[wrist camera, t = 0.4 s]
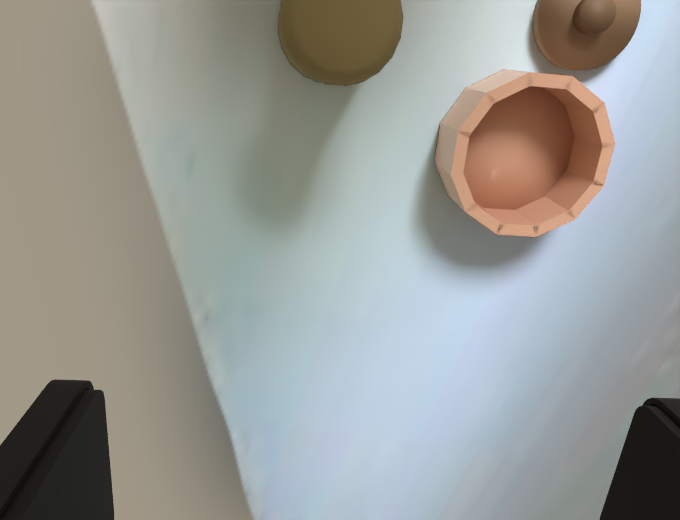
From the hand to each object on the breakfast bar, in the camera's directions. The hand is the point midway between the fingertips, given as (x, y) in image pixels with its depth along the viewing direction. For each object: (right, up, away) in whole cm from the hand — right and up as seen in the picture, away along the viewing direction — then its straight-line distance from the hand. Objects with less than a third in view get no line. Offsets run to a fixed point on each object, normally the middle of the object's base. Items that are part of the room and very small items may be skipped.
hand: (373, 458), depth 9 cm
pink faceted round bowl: (+10, +11, +25) cm, 29 cm away
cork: (-1, +17, +22) cm, 28 cm away
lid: (+14, +18, +23) cm, 32 cm away
